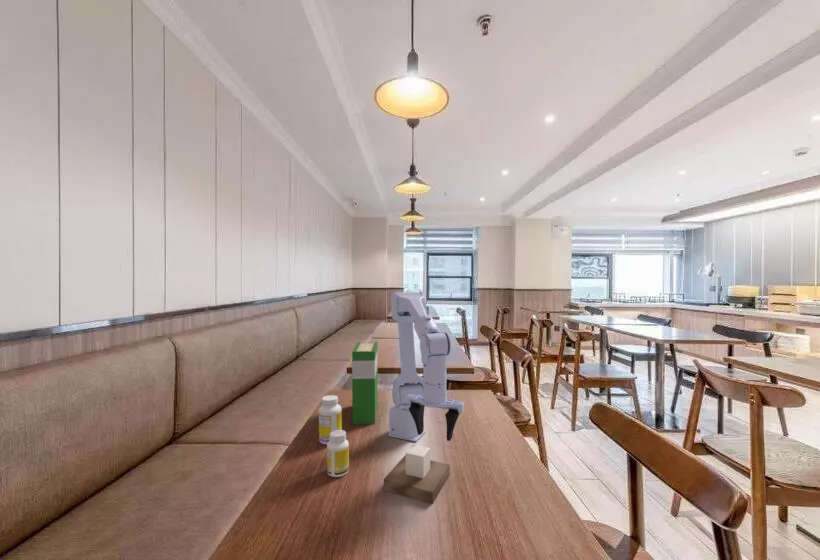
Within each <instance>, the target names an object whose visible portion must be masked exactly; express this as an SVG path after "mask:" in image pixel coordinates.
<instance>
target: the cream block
mask: <svg viewBox="0 0 820 560" xmlns="http://www.w3.org/2000/svg"><path fill="white" fill-rule="evenodd" d="M405 455H406V474H407V475H411V476H415V477H419V478H424V477H425V476H426V474H427V473H428V471H429V470H430V460H431V447H426V446H422V445H417V444H412V445H411V447H410V448H409V449H408V450H407V451H406V452H405Z"/></svg>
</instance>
